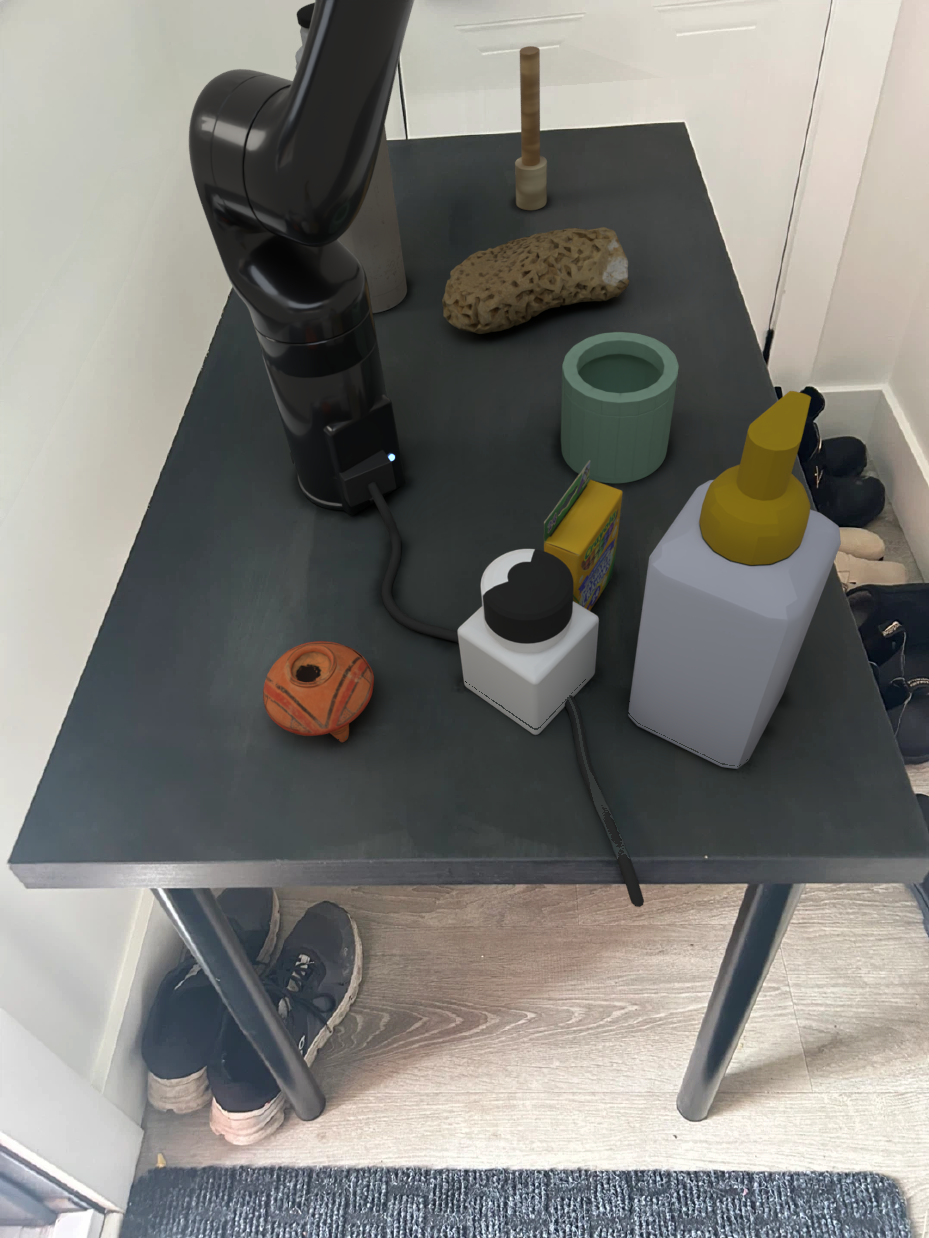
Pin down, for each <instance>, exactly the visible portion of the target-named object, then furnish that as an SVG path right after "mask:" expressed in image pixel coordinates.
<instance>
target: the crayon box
mask: <svg viewBox="0 0 929 1238" xmlns="http://www.w3.org/2000/svg"><path fill="white" fill-rule="evenodd" d="M589 472H590V460H589V461H588V462H587V464H586V465H585V467H584V468H583V470H582V471H581V473H580V474H578V475H577V476H576V478H575V479H574V481H573V482H572V484H571V485H570V486H569V487H568V489H567V490H566V492H565V493H564V494H563V496H562V497H561V498H560V499H559V501H558V502H557V503H556V505H555V506H554V508H553V509H552V511H551V512H550V513H549V515H548V516H547V518H546V519H545V520H544V521H543V551H545V552H547V553H550V554H552V555H554V556H556V557H557V558H559V559H560V560H561V561H563V562H564V563H565V564H566V565H567V567H568V568H569V570H570V572H571V574H572V577H573V582H574V588H573V601H574V602H575V603H577V604H579V605H580V606H582V607H584V608H585V609H587V610H589V611H590V612H591V610H592V608H593V607H594V606H595V604H596V602H597V601H598V599H599V598H600V596H601V595H602V594H603V592H604V590H605V589H606V587H607V586H608V584H609V583H610V581H611V580H612V578H613V576H614V568H615V563H616V555H617V546H618V536H619V528H620V519H621V509H622V501H623V493H624V492H623V490H621V489H619V488H616V487H613V486H611V485H608V484H606V483H603V482H598V481H594V480H591V479H589ZM574 490H575V492H574ZM573 492H574V493H573ZM572 493H573V494H572ZM570 494H572V496H571V497H570V498H569V500H568V503H567V505H566V506H565V507H563V506H564V504H565V503H566V500H567V498H568V496H569V495H570ZM562 507H563V508H562ZM561 508H562V510H561V511H560V509H561ZM559 512H560V513H559Z"/></svg>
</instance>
